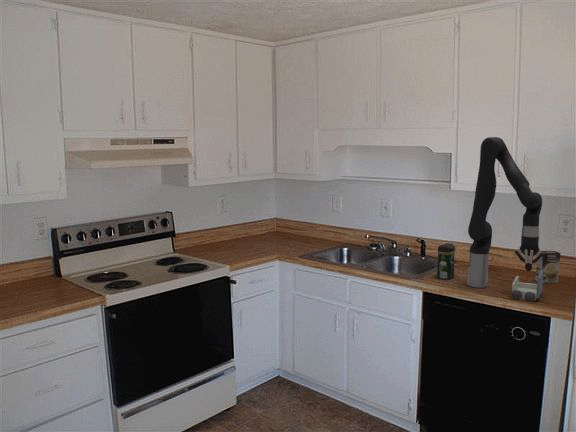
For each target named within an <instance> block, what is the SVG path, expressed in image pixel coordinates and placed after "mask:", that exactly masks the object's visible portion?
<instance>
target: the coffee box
mask: <svg viewBox="0 0 576 432" xmlns="http://www.w3.org/2000/svg"><path fill="white" fill-rule="evenodd" d="M540 251H541V252H543V253H544V255H543V256H542V257H541V258H540V259H539V260H538V261H537V262H536V265H535V266H536V267H535V268H536V269H535V279H534V280H535V281H536V282H537V279H538V275H539V273H540V270H543V284H559V275H560V265H561V252H558V251H556V250H540ZM536 255H537V256H539V255H538V254H536Z"/></svg>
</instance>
